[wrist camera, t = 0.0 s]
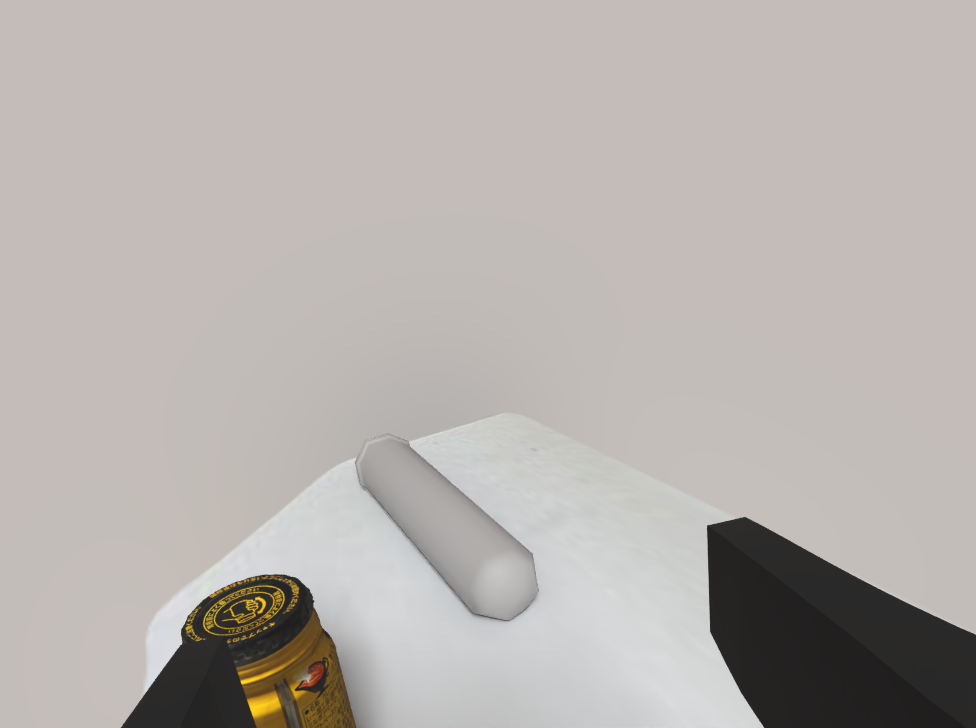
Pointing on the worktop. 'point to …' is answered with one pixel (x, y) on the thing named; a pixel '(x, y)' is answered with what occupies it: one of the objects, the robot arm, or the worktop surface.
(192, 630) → the condiment
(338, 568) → the worktop surface
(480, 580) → the tube
